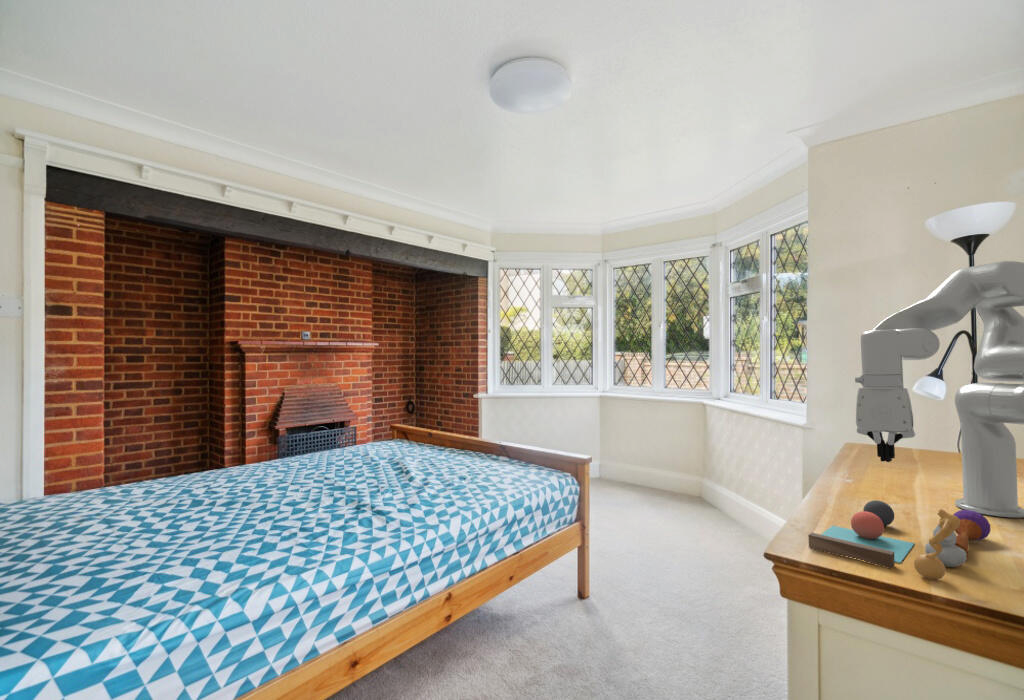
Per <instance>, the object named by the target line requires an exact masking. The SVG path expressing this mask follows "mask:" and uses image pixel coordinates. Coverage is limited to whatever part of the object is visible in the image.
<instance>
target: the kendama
mask: <svg viewBox="0 0 1024 700" xmlns="http://www.w3.org/2000/svg"><path fill="white" fill-rule="evenodd" d="M952 515H954V516H956V517H958V518H959V519H960V525H959V527H958V528H957V529H956V530H955V531H954V532H955V534H956V543H955V546H958V547H959V548H961V549H963V550H965V552H966V554H967V556H966V560H967V559H968V557H969V541H983V540H984V539H986V538H988V536H989V535H990V533H991V524H990V522H989V520H988V519H987V518H986V517H985V516H984V514H981V513H977V512H975V511H971V510H965V509H961V510H958V511H956V512H954V513H953V514H952Z"/></svg>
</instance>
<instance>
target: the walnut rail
mask: <svg viewBox="0 0 1024 700" xmlns="http://www.w3.org/2000/svg"><path fill="white" fill-rule="evenodd" d="M821 534H822V533H821ZM821 534H820V533H817V532H816V533H815V532H810V533H809V534H808V535H807V536H808V548H809V547H810V549H812V548H814V549H813V550H816V549H817V551H820V550H821V552H824V551H825V552H824V553H828V552H830V553H829V554H832V553H833V554H832V555H836V554H838V555H837V556H839V555H843V556H848V557H852V558H856V559H860V560H864V561H866V562H865V563H867V562H870V563H869V564H871V563H873V564H872V565H874V564H877V565H876V566H878V565H880V566H879V567H882V566H885V567H884V568H886V567H888V568H887V569H890V568H893V569H894V567H895V566H894V565H895V563H896V562H895V560H894V552H893V551H889V550H885V549H880V548H876V547H872V546H867V545H863V544H859V543H855V542H850V541H846V540H842V539H838V538H833V537H829V536H825V535H821ZM843 556H842V557H843Z"/></svg>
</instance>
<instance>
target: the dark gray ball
mask: <svg viewBox="0 0 1024 700" xmlns="http://www.w3.org/2000/svg"><path fill="white" fill-rule="evenodd" d="M863 511H867V512H871V513H873V514H875V515H877V516H878V517H879V518H880V519H881V521H882V522H883V525H884V527H887V526H890V525H891V524H892V523H894V520H895V512H894V509H893V508H892V507H891V505H889V504H888V503H886V502H884V501H881V500H876V499H875V500H871V501H868V502H867V503H865V505H863Z"/></svg>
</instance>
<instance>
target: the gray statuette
mask: <svg viewBox="0 0 1024 700" xmlns="http://www.w3.org/2000/svg"><path fill="white" fill-rule="evenodd" d="M939 531H940V525H939V524H937V525H936V527H935V528H934V530H933V534H932V535H933V536H932V537H934V536H935V535H936V534H937V533H938V532H939ZM956 536H957V533H956V532H955V531H953V532H952V534H951V535H950V536H948V537H947V538H946V539H944V540H943V541H942V542H939V544H941V545H942V551H941V552H940V553H939V554H938V555H937V558H939V559H940V560H941V561H942V562H943V564H944V566H945V568H946V567H947V568H957V567H959V566H961V565H963V564H965V562H966V561H967V559H966V556H967V554H966V552H965V550H963V549H961V548H959V547H958V546H955V543H956ZM934 545H935V544H934ZM924 549H925V554H929V553H934V552H936V550H934V549H933V547H932V546H931V545H930V544H929V541H928V542H927V543H926V544H925V547H924Z"/></svg>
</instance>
